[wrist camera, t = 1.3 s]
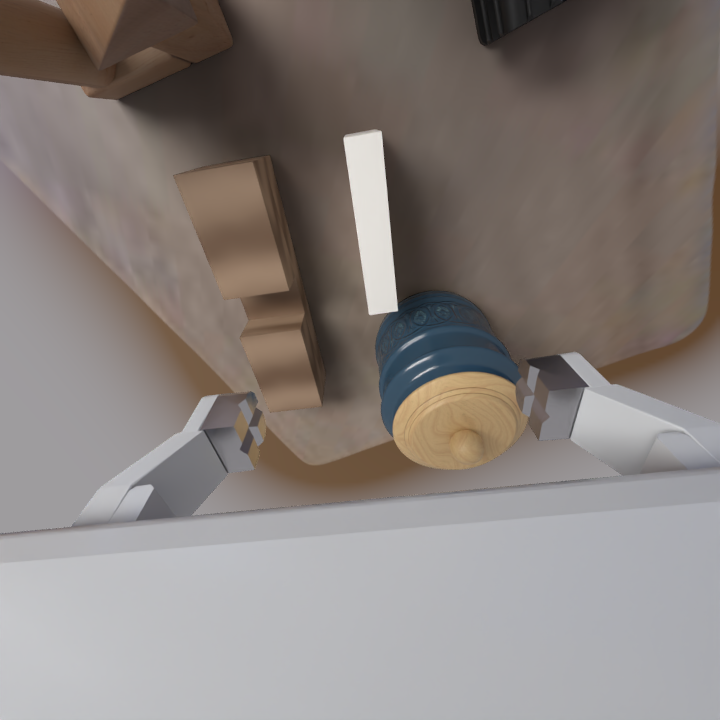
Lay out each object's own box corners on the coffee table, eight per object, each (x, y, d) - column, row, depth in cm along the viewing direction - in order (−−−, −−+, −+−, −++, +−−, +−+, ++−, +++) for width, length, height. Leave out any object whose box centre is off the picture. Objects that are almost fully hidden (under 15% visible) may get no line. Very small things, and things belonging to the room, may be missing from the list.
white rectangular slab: (346, 134, 29) (343, 138, 22) (375, 129, 28) (381, 131, 22) (366, 280, 36) (369, 315, 29) (390, 276, 36) (398, 311, 29)
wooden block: (236, 46, 25) (72, -59, 11) (116, 102, 27) (-168, 77, 12) (209, -23, 23) (-40, -271, 9) (81, 42, 25) (-308, -72, 10)
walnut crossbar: (203, 166, 30) (173, 175, 25) (269, 155, 29) (252, 161, 24) (279, 379, 43) (270, 412, 38) (325, 374, 43) (322, 406, 38)
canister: (368, 296, 37) (376, 407, 23) (489, 279, 36) (579, 384, 22) (380, 387, 44) (393, 515, 30) (481, 375, 43) (545, 501, 29)
